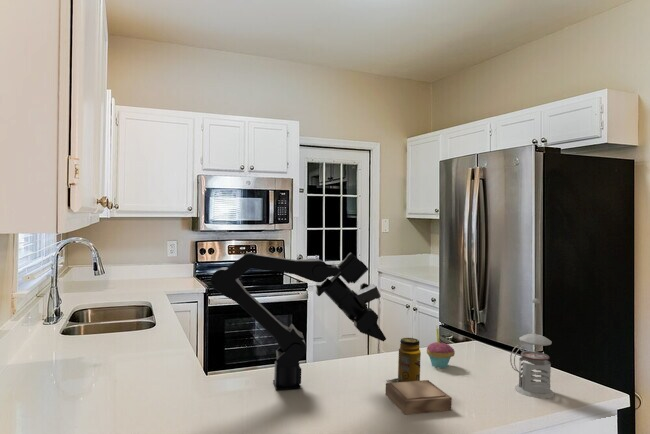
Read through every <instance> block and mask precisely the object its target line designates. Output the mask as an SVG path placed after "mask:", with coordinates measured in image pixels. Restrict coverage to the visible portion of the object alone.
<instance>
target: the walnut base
mask: <svg viewBox="0 0 650 434" xmlns="http://www.w3.org/2000/svg"><path fill="white" fill-rule="evenodd" d="M385 397H387V398H388V399H389V400H390V402H392V403H393V404H394V405H395V406H396V407H397V408H398V409H399V410H400V411H401V412H402V413H403V414H404V415H411V414H412V415H414V414H425V413H426V414H427V413H434V412H435V413H436V412H446V411H452V400H453V399H452V397H451V396H450V395H449V394H447V392H445V391H443V390H442V389H441V388H439V387H438V386H437V385H435V384H434V383H432V382H431V381H430V380H428V379H426V380H420V381H409V382H395V383H389V382H385Z"/></svg>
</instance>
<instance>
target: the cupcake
mask: <svg viewBox="0 0 650 434" xmlns="http://www.w3.org/2000/svg"><path fill="white" fill-rule="evenodd" d="M455 352H456V351H455V349H454V348H453V347H452V346H451V345H450V344H449V343H444V342H440V332H439V328H438V326H436V342H435V341H434V342H432V343H430V344H429V345H428V346H427V347H426V354H427V355H428V357H429V360H430V364H431V366H432V367H435V368H439V369H445V368H448V365H449V363H450V360H451V358H453V357H454V356H455V354H456V353H455Z"/></svg>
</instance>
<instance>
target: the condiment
mask: <svg viewBox="0 0 650 434" xmlns="http://www.w3.org/2000/svg"><path fill="white" fill-rule="evenodd" d="M399 342H400V343H399V344H400V345H399V348H398V364H397V365H398V366H397V367H398V368H397V369H398V370H397V378H396V377H395V378H392V379H387V380H386V382H387V383H395V382H409V381H421V349H420V340H419V339H418V338H413V337H402V338H400V340H399Z"/></svg>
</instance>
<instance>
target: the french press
mask: <svg viewBox="0 0 650 434" xmlns="http://www.w3.org/2000/svg"><path fill="white" fill-rule="evenodd" d="M531 302H532V303H533V304H540V303H541V300H540V299H539V298H533V299H532V301H531ZM534 310H535V312H534V313H535V314H534V315H535V316H534V317H535V318H534V319H535V320H534V321H535V324H534V333H527V334H524V335H521V336H520V337H519V338H518V339H519V342H521V343H524V344H527V345H530V346H531V345H532V346H539V347H540V346H543V347H545V346H550V345H552V340H550V339H549V338H547V337H546V336H543V335H542V334H537V333H536V332H537V330H536V329H537V308H535V309H534ZM517 347H519V348H518V349H517V350H516V348H517ZM522 348H523V350H522ZM515 350H516V351H515ZM514 351H515V353H514V357H513V356H512V355H513V352H514ZM519 351H520V356H521V357H519V362H518V364H519V365H518V366H519V367H518V368H517V366H516V356H517V353H518V352H519ZM509 356H510V357H509V358H510V360H509V362H510V366H511V368H512V369H513V370H514V371H516V372H517V373H518V384H517V385H515V386H514V390H515V391H516V392H517V393H519V394H521V395H524V396H526V397H529V398H536V399H551V398H553V397H555V393H554V391H553V390H552V389H551V371H552V370H551V369H552V368H551V367H552V366H551V365H552V364H551V361H549V360H550V358H551V357H550V356H549V355H548V354H546V353H543V352H538V351H532V350H526V351H525V346H522V345H521V344H518V345H516V346H514V348H512V351H511V353H510V355H509ZM512 357H513V363H512ZM525 361H526V362H525ZM513 364H514V365H513ZM534 370H535V371H534ZM535 375H536V376H535ZM537 380H538V381H537Z"/></svg>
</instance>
